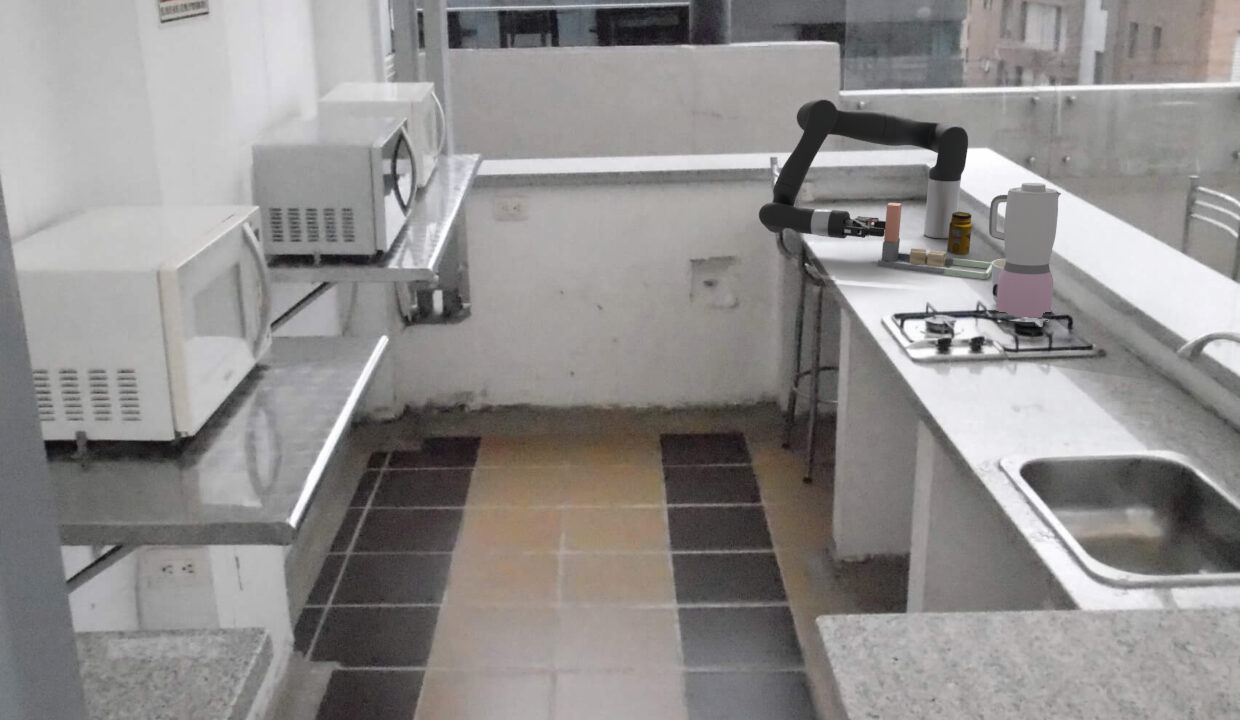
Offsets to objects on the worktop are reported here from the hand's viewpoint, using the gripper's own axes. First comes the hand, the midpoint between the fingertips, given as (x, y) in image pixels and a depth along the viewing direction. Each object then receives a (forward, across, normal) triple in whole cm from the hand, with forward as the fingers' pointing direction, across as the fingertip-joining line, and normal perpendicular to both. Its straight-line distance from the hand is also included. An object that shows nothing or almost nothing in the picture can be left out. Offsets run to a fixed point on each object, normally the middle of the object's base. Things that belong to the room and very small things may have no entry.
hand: (888, 229), depth 322 cm
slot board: (+8, 0, +10) cm, 13 cm away
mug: (+38, -23, +10) cm, 46 cm away
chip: (+14, 0, +9) cm, 16 cm away
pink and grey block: (+1, 0, +9) cm, 9 cm away
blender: (+40, -37, +10) cm, 56 cm away
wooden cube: (+9, 0, +9) cm, 12 cm away
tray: (+23, 0, +10) cm, 25 cm away
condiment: (+15, +19, +10) cm, 26 cm away
